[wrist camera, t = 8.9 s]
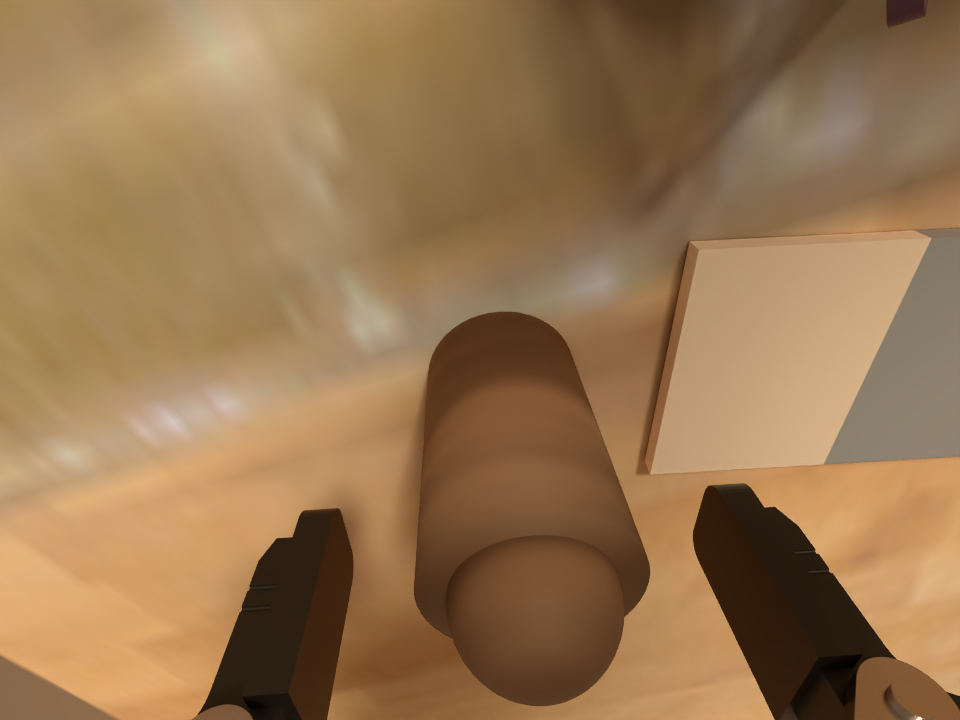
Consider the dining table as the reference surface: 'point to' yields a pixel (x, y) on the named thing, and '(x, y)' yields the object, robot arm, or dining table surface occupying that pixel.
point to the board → (812, 353)
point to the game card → (904, 11)
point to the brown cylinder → (522, 514)
